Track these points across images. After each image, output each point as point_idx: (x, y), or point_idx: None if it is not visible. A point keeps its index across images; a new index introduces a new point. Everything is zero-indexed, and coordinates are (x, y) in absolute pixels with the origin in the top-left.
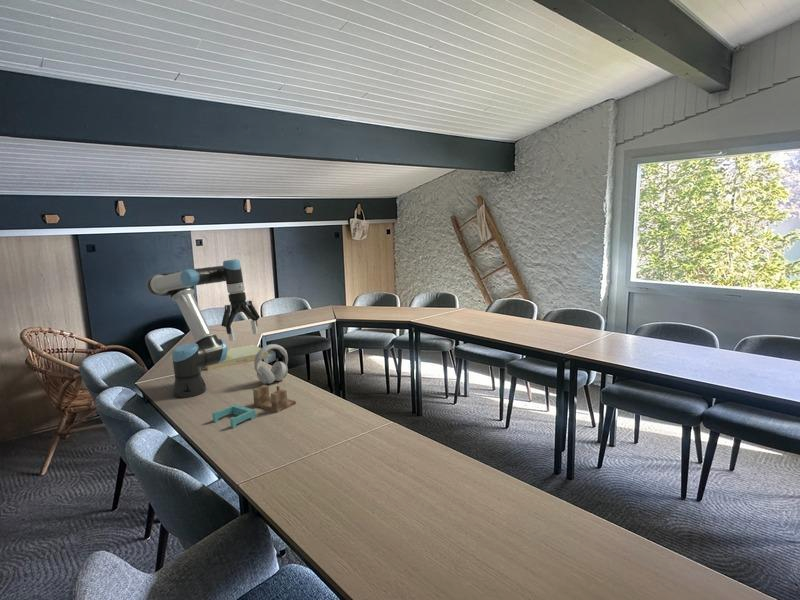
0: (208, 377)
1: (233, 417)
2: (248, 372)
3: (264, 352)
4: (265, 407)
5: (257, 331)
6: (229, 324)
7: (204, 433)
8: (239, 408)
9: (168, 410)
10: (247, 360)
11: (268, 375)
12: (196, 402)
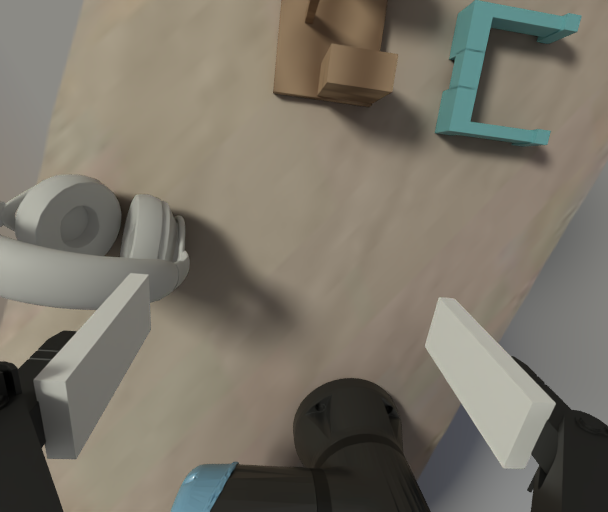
0: None
1: (569, 22)
2: None
3: (108, 257)
4: (381, 32)
5: (119, 286)
6: (597, 438)
7: (601, 100)
8: (478, 79)
9: None
10: None
11: (163, 206)
12: (407, 332)
